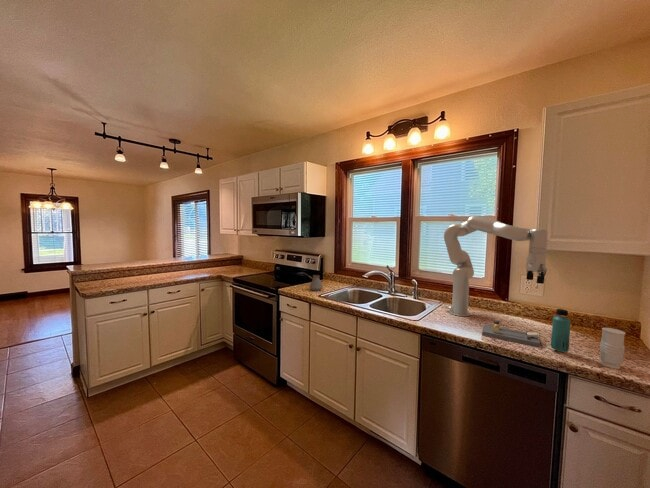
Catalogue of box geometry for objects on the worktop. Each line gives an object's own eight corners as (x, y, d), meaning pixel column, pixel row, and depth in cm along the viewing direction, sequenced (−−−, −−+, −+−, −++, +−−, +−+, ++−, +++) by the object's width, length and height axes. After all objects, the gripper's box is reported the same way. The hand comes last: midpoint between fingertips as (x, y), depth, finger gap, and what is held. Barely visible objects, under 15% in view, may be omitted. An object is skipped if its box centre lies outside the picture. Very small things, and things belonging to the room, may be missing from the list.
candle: (623, 371, 107) (626, 335, 106) (598, 364, 112) (601, 330, 111) (622, 365, 112) (625, 331, 111) (598, 359, 117) (601, 326, 116)
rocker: (527, 336, 134) (527, 334, 134) (527, 334, 137) (526, 332, 137) (538, 336, 131) (538, 334, 131) (537, 334, 134) (537, 332, 134)
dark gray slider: (493, 328, 145) (493, 321, 145) (493, 326, 147) (493, 319, 147) (499, 329, 144) (499, 322, 144) (499, 327, 146) (499, 320, 146)
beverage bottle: (562, 356, 119) (565, 312, 118) (546, 349, 125) (549, 308, 124) (572, 354, 121) (575, 311, 120) (556, 347, 127) (559, 307, 126)
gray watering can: (324, 289, 236) (325, 273, 235) (318, 292, 226) (318, 275, 225) (304, 286, 246) (304, 270, 245) (297, 289, 236) (297, 272, 235)
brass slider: (492, 332, 140) (493, 324, 139) (493, 330, 142) (493, 323, 141) (498, 333, 138) (499, 325, 138) (498, 331, 140) (499, 324, 140)
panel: (482, 335, 141) (482, 329, 141) (483, 327, 152) (484, 322, 151) (539, 347, 127) (540, 340, 127) (537, 338, 138) (537, 332, 138)
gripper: (521, 249, 155) (518, 278, 156) (539, 252, 138) (536, 284, 139) (535, 249, 154) (533, 278, 155) (555, 252, 137) (552, 285, 138)
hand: (534, 281), depth 147 cm, fingers open, 9 cm apart
